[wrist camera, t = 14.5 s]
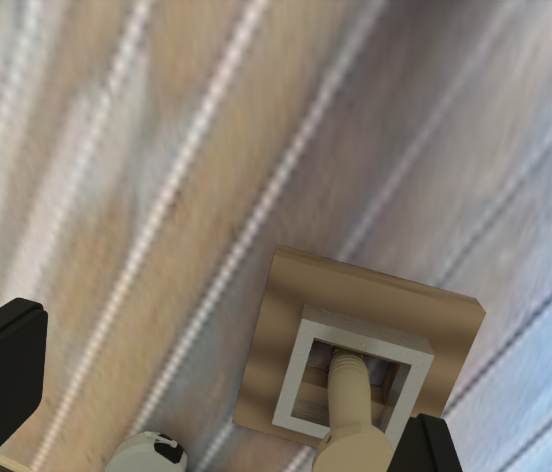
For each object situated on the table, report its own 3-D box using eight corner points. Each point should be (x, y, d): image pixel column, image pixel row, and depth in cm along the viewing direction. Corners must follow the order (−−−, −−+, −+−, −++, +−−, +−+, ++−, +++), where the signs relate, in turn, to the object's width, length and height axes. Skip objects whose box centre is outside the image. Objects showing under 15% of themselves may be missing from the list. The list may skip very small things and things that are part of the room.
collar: (304, 303, 42) (302, 318, 39) (427, 338, 41) (434, 355, 38) (275, 403, 46) (271, 423, 43) (388, 436, 45) (391, 459, 42)
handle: (385, 349, 45) (408, 462, 31) (343, 386, 47) (346, 508, 33) (351, 320, 45) (358, 422, 31) (310, 359, 47) (298, 471, 33)
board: (278, 245, 44) (273, 255, 41) (476, 298, 43) (486, 312, 40) (237, 404, 50) (231, 422, 47) (409, 455, 49) (413, 476, 46)
